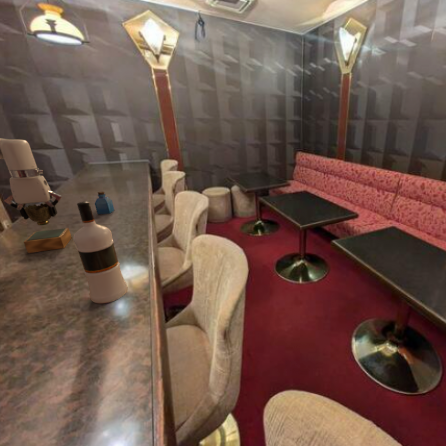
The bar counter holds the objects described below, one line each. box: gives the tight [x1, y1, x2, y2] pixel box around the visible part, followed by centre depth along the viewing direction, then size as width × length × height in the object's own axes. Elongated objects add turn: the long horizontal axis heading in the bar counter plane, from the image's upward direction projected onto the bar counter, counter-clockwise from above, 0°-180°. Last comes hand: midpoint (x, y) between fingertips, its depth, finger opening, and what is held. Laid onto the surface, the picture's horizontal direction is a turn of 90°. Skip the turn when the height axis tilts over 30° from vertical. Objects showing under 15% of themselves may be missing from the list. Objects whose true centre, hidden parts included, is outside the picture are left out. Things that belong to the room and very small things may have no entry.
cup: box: [24, 202, 52, 226], centre depth 100 cm, size 8×7×8 cm
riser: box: [23, 227, 73, 254], centre depth 104 cm, size 11×11×5 cm
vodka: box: [72, 201, 129, 304], centre depth 71 cm, size 9×9×30 cm
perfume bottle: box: [94, 191, 115, 215], centre depth 143 cm, size 6×6×12 cm
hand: (40, 216), depth 100 cm, fingers closed on cup, 7 cm apart
